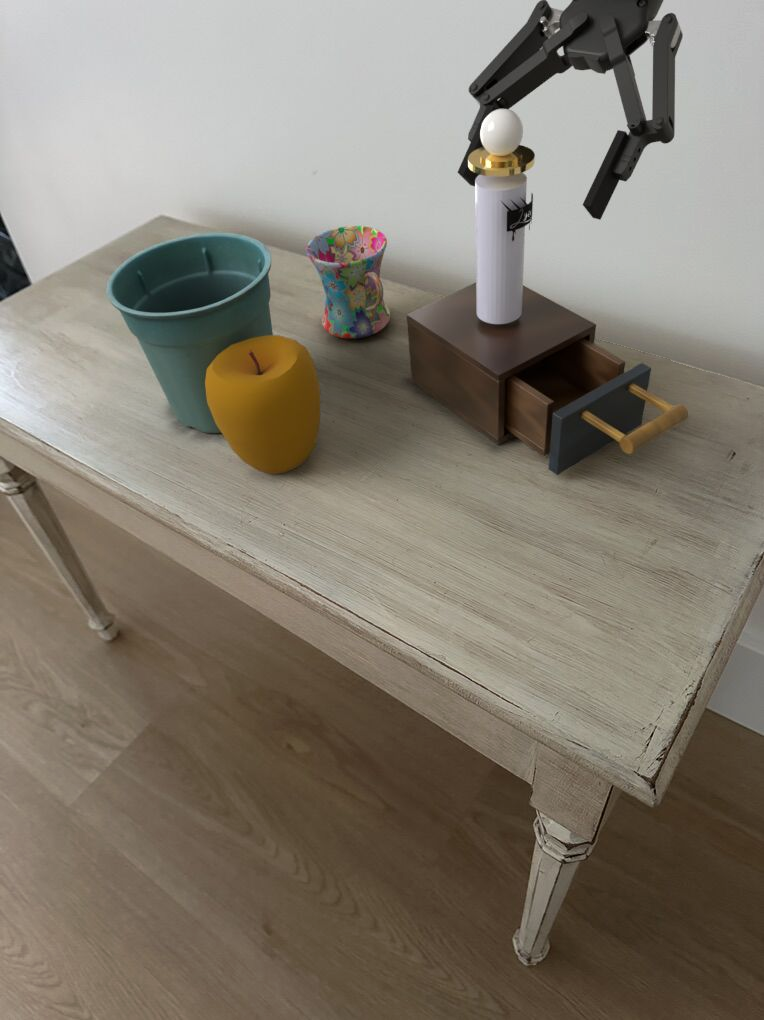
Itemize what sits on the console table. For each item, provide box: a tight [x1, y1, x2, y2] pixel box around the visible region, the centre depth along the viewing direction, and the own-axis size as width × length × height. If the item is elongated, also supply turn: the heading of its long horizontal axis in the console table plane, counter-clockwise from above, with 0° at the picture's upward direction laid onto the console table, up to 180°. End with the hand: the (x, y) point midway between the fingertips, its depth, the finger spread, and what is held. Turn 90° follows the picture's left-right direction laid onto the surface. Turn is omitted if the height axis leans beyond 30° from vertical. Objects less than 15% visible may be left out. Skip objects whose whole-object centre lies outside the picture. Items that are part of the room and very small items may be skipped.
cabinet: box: [406, 282, 597, 446], centre depth 83 cm, size 15×13×9 cm
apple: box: [205, 334, 321, 475], centre depth 77 cm, size 11×11×13 cm
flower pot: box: [105, 232, 274, 434], centre depth 84 cm, size 16×16×16 cm
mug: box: [306, 225, 391, 340], centre depth 93 cm, size 12×9×11 cm
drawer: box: [504, 338, 690, 476], centre depth 76 cm, size 20×11×7 cm, turn 35°
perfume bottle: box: [468, 108, 536, 324], centre depth 73 cm, size 6×6×20 cm
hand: (525, 195), depth 72 cm, fingers open, 13 cm apart
